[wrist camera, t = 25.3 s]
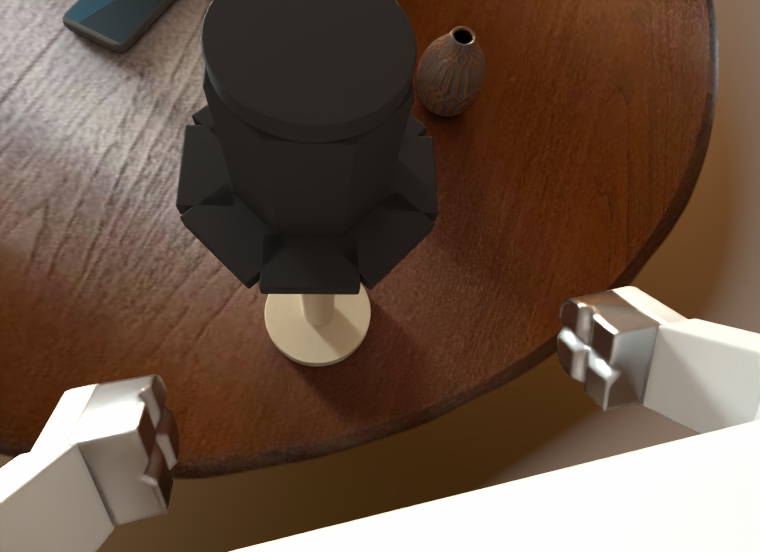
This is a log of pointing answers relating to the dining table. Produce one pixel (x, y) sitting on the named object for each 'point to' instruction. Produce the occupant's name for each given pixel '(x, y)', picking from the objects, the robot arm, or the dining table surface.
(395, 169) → the hat
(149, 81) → the dining table surface
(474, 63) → the vase
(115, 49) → the smartphone
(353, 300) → the hat stand
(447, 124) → the dining table surface
